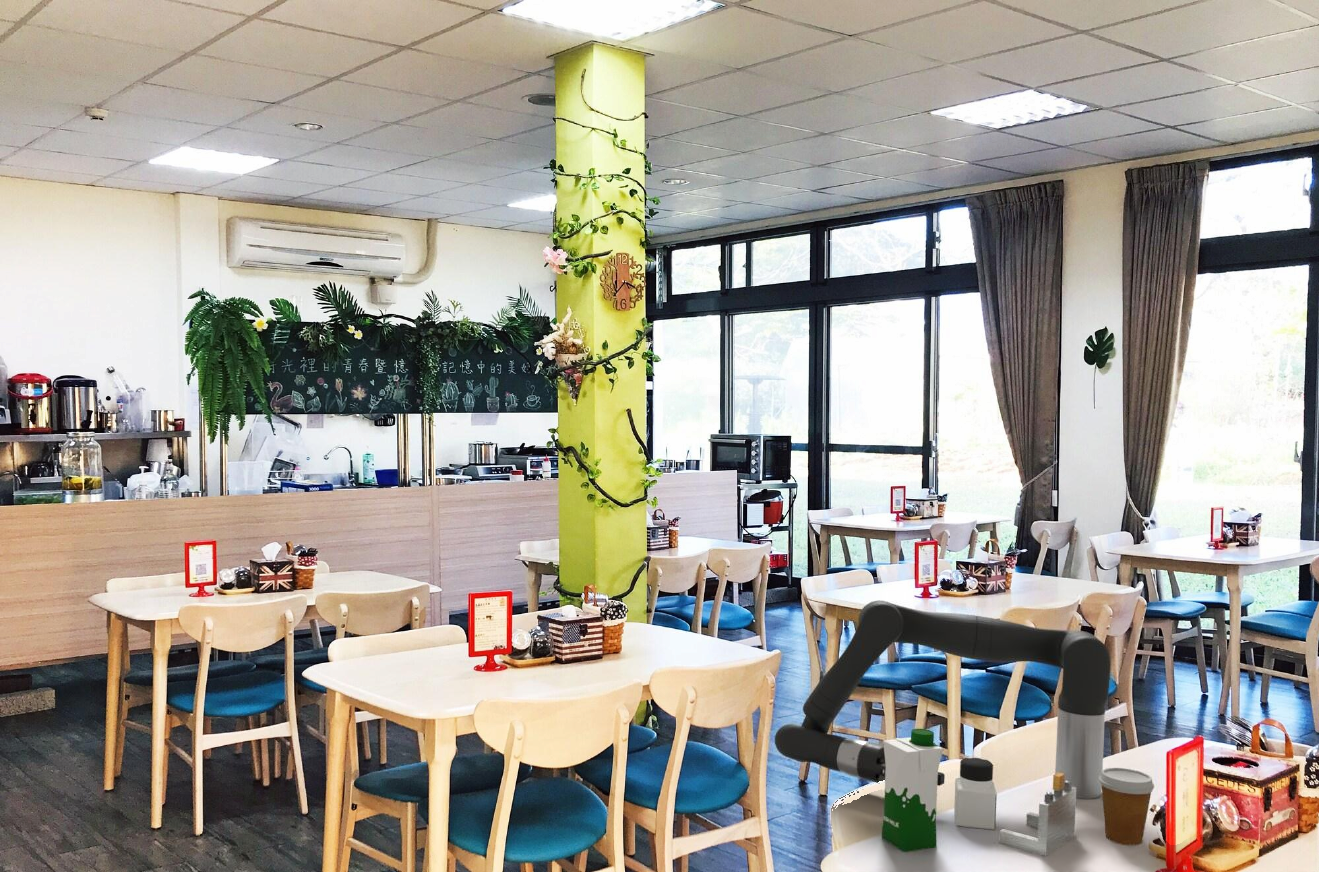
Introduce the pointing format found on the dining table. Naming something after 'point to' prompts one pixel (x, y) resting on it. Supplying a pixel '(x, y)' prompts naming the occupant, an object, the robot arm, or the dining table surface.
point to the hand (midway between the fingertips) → (942, 779)
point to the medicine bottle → (975, 794)
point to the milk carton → (911, 791)
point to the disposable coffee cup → (1125, 804)
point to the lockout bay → (1048, 820)
